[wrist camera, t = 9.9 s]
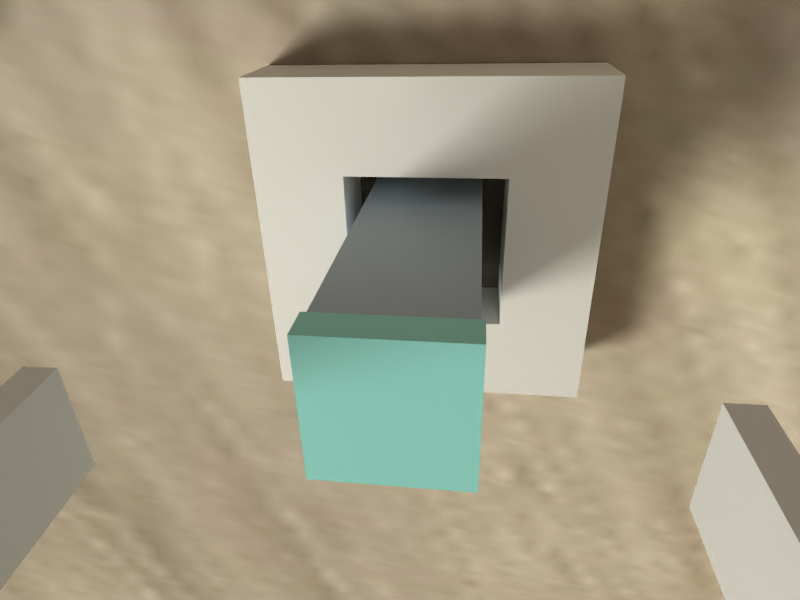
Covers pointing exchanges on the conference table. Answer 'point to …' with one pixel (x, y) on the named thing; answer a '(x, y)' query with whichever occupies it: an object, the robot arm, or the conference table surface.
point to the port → (445, 158)
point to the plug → (397, 343)
